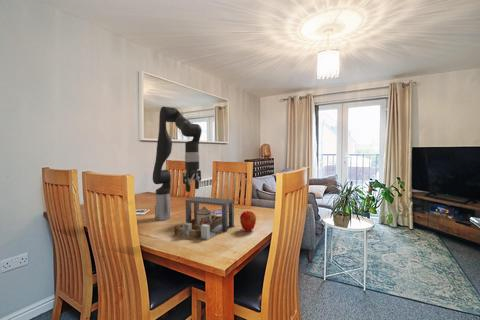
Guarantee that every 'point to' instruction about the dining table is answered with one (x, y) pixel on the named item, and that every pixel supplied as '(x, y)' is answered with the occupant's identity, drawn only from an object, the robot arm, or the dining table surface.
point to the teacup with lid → (204, 217)
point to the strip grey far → (217, 229)
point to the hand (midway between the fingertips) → (192, 190)
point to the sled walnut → (187, 230)
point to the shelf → (213, 202)
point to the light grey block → (206, 232)
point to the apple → (248, 220)
